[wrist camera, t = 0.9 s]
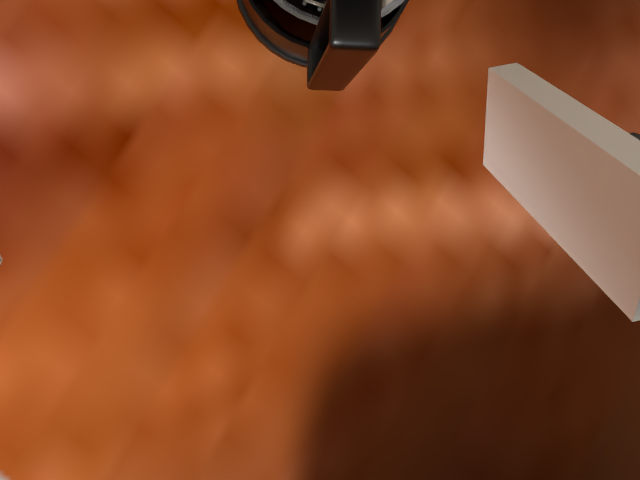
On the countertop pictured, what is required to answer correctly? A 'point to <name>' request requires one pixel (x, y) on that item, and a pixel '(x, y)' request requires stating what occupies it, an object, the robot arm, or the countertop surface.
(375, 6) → the french press
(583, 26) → the countertop surface
